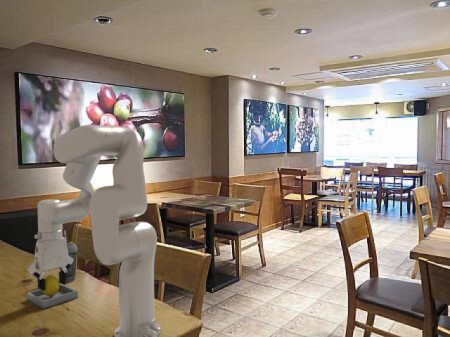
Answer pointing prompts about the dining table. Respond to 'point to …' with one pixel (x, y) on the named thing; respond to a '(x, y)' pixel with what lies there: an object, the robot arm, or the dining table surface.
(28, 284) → the dining table surface
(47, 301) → the tray
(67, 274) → the beverage cup
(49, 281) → the lemon
